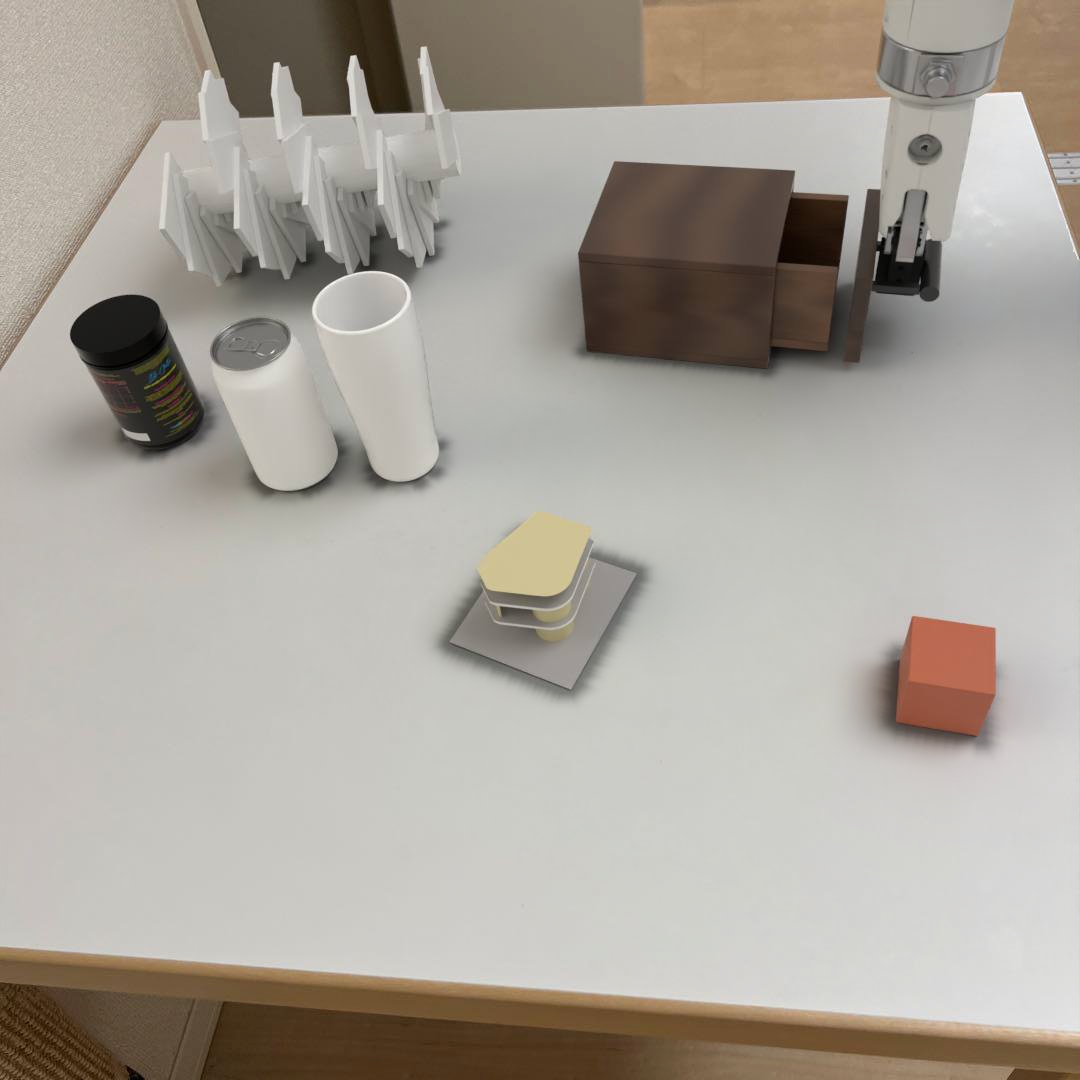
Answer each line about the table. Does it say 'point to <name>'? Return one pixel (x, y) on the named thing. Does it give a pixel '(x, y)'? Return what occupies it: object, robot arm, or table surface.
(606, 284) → the cabinet
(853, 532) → the table surface
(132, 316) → the supplement container
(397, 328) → the drinking glass
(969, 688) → the block
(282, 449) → the can
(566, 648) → the stacked layers on plate
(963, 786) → the table surface
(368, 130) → the spiral staircase
